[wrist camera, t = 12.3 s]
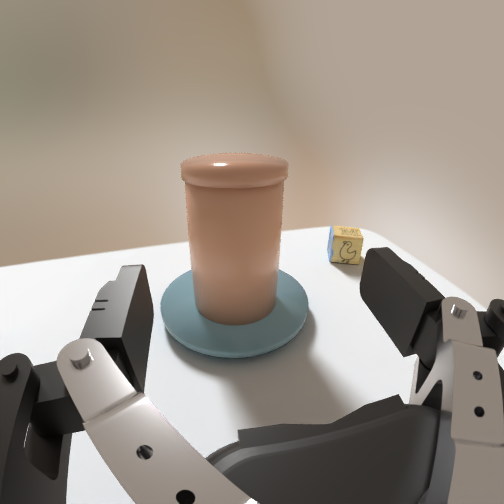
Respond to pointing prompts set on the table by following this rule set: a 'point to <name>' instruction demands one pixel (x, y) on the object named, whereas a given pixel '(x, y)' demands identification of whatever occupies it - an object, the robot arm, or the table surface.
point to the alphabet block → (344, 244)
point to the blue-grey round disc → (233, 336)
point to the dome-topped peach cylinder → (234, 233)
